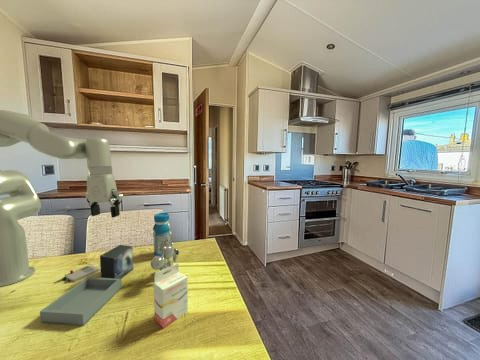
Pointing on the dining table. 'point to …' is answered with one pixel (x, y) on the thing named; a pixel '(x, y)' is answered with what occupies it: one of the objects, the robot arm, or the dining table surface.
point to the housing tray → (81, 301)
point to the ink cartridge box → (170, 295)
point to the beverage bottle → (161, 231)
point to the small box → (117, 262)
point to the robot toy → (164, 256)
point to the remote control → (80, 273)
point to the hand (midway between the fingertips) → (105, 215)
